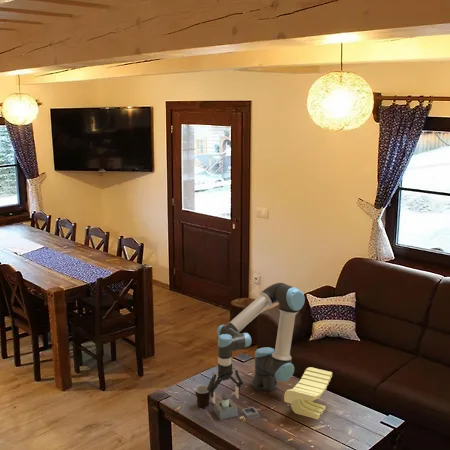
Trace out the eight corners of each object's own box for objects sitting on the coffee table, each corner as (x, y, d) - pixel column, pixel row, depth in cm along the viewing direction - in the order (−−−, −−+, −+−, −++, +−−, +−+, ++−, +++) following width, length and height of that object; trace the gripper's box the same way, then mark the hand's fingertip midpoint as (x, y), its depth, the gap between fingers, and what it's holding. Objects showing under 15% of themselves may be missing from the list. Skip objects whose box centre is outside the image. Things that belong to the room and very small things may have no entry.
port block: (230, 408, 314) (230, 398, 313) (237, 417, 305) (237, 407, 303) (213, 412, 310) (213, 402, 309) (220, 421, 301) (220, 411, 300)
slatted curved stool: (304, 394, 329) (305, 365, 325) (331, 401, 321) (332, 372, 317) (283, 419, 303) (284, 388, 299) (312, 427, 295) (312, 396, 292)
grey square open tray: (253, 410, 312) (253, 405, 311) (260, 418, 304) (260, 412, 304) (240, 413, 309) (240, 408, 308) (246, 421, 301) (246, 416, 301)
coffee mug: (208, 410, 312) (208, 394, 310) (193, 409, 314) (193, 392, 312) (213, 399, 323) (213, 383, 321) (198, 398, 325) (198, 382, 323)
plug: (230, 416, 306) (230, 395, 304) (223, 417, 305) (223, 397, 302) (227, 412, 310) (227, 392, 307) (220, 414, 309) (220, 393, 306)
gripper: (243, 356, 309) (243, 391, 313) (200, 364, 300) (201, 400, 304) (249, 361, 302) (249, 398, 307) (205, 370, 293) (206, 407, 297)
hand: (225, 399), depth 305 cm, fingers open, 13 cm apart
